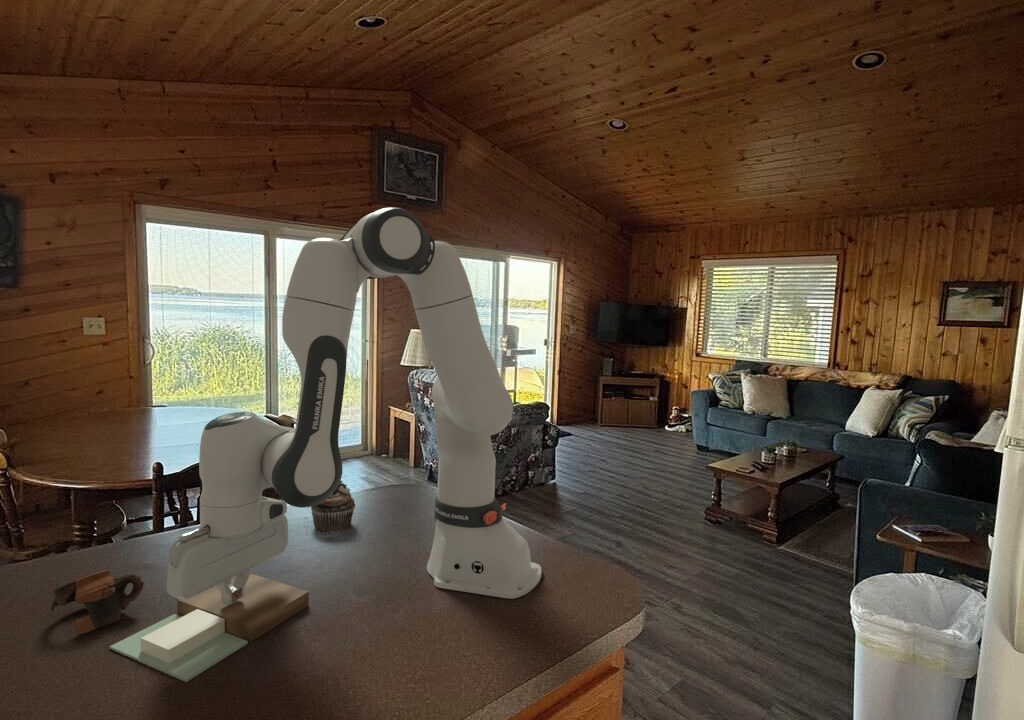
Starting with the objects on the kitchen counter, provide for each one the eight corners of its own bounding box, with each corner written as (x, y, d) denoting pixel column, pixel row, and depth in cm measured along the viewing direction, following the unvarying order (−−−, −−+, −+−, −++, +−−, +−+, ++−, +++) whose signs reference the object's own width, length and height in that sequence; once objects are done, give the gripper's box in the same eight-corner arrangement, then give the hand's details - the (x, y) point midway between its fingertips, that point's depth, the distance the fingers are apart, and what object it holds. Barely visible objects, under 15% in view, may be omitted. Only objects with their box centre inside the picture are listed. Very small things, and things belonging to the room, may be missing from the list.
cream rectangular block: (197, 621, 91) (197, 609, 91) (224, 631, 89) (224, 619, 88) (140, 651, 83) (140, 638, 83) (169, 663, 80) (168, 649, 80)
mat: (247, 643, 86) (247, 641, 86) (186, 682, 77) (186, 679, 77) (174, 616, 93) (174, 613, 93) (109, 649, 84) (109, 646, 84)
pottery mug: (54, 647, 84) (39, 592, 86) (69, 643, 92) (55, 593, 94) (148, 607, 91) (132, 556, 92) (154, 606, 99) (140, 560, 100)
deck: (308, 605, 98) (308, 591, 98) (250, 642, 87) (250, 626, 87) (239, 583, 104) (239, 570, 104) (177, 614, 93) (177, 600, 93)
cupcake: (303, 524, 132) (303, 482, 132) (342, 515, 139) (343, 474, 138) (322, 538, 126) (322, 493, 125) (362, 527, 132) (363, 485, 131)
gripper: (185, 544, 81) (187, 638, 82) (294, 500, 99) (294, 577, 101) (154, 535, 83) (157, 627, 84) (267, 494, 102) (267, 570, 103)
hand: (232, 599), depth 93 cm, fingers closed
